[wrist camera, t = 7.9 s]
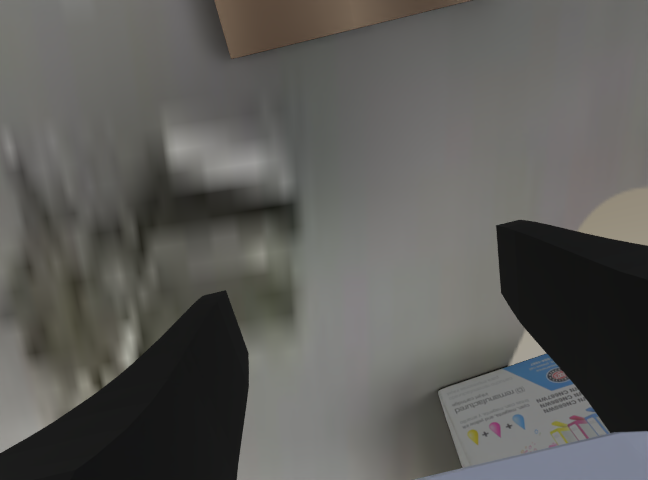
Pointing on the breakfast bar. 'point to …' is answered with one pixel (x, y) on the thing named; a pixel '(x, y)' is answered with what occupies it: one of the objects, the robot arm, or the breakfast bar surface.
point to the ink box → (517, 412)
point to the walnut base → (306, 19)
